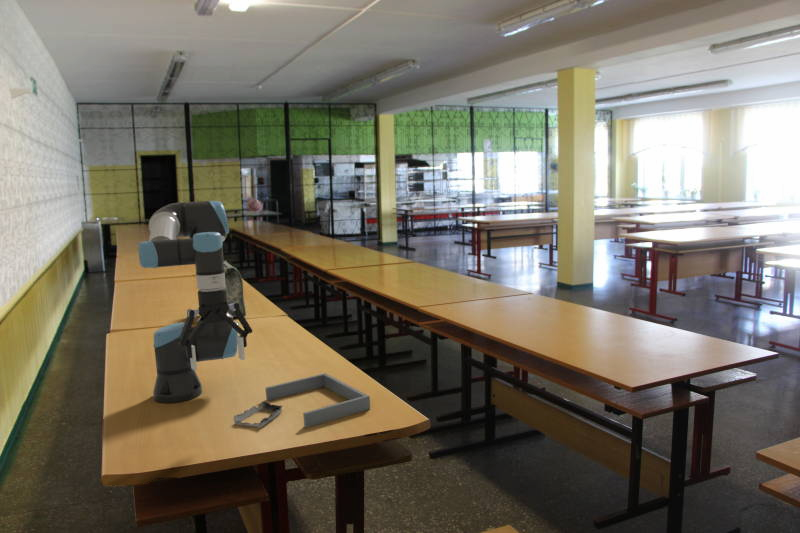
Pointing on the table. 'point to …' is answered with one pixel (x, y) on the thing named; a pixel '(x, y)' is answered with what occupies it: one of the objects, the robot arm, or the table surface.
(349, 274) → the table surface
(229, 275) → the bag
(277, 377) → the table surface
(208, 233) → the robot arm
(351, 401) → the box
